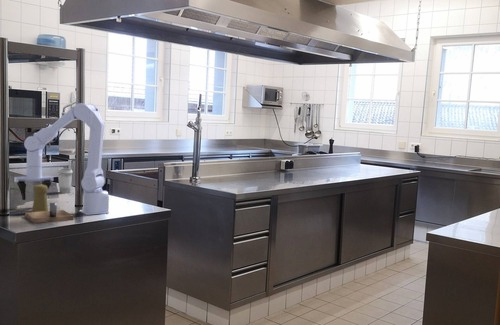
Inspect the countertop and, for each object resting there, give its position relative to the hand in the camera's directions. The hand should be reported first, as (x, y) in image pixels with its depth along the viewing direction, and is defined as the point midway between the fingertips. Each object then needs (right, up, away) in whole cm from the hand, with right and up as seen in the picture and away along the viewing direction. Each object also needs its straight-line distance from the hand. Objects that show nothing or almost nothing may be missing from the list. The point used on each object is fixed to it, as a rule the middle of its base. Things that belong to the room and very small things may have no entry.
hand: (33, 199), depth 200 cm
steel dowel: (+15, -5, -19) cm, 25 cm away
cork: (+5, -5, -7) cm, 10 cm away
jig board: (+13, -6, -15) cm, 21 cm away
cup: (-1, -1, +37) cm, 37 cm away
